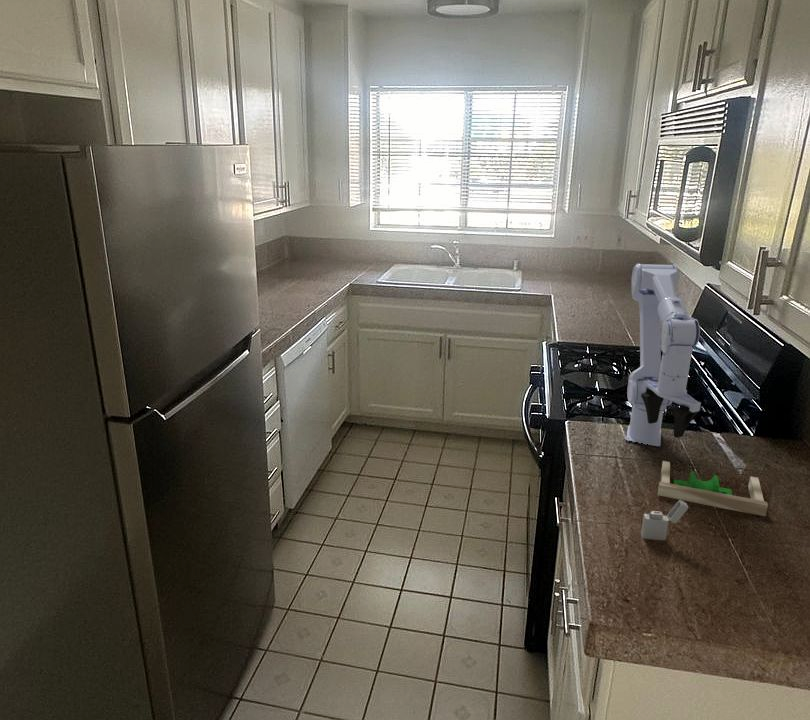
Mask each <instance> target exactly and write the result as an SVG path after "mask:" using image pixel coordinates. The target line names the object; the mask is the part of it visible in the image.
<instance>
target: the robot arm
mask: <svg viewBox="0 0 810 720" xmlns="http://www.w3.org/2000/svg"><path fill="white" fill-rule="evenodd" d="M679 274H680V272H679V268H678V266H677V265H676V264H651V263H649V264H648V263H647V264H645V263H636V264H635V266H633V268H632V273H631V296H632V300H634V301H636V302H637V303H638V308H639V309H638V310H639V353H640V354H639V357H640V359H639V362H640V365H639V367H638V368H637V369H634V370H633V371H632V372H631V373H630V374H629V376H628V384H627V388H626V391H627V392H626V394H627V400H628V402H629V403H630V404H631V405H632V407H631V414H630V422H629V425H627V426H628V427H627V430H626V437H625V441H626V440H627V441H626V442H629V441H632V442H631V443H635V442H638V443H637V444H641V443H643V444H642V445H647V444H648V446H654V447H661V443H662V441H661V438H662V430H661V428H662V422H663V416H664V411H665V410H667V407H669V406H670V405H672V403H675V404H677V405H680V406H678V407H673V408H672V412H673V417H674V419H673V420H674V424H673V433H672V434H673V437H674V438H681V437H683V436H684V435H685V432H686V429H687V428H688V426H689V425H690V423H691V421H692V420H693V419H694V418H695V417H696V416H697V414H699V412H701V411H700V410H701V404H702V402H701V401H698V400H696V399H695V398H694V397H692V396H691V395H690V394H688V390H687V385H688V379H689V372H690V367H691V366H690V365H691V359H692V355H693V349H694V348H693V347H696V346H697V345H698V343H699V342H700V341H699V340H700V336H701V328H700V327H701V326H700V324H699V320H698V319H696V318H694V317H691V316H690V314H689V311H688V309H687V307H686V304H685V302H684V300H683V299H681V297H677V292H676V287H677V286H678V283H679V279H680V278H679V277H680V275H679ZM661 325H662V327H661ZM661 352H662V355H661Z"/></svg>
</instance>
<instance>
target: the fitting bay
mask: <svg viewBox="0 0 810 720" xmlns="http://www.w3.org/2000/svg"><path fill="white" fill-rule="evenodd" d="M670 479H671V462H670V461H666V460H662V464H661V472H660V481H659V482H658V487H657V488H658V490H657V496H660V497H664V498H670V499H675V500H678V501H679V500H681V501H683V502H685V501H686V502H690V503H695V504H699V505H700V504H701V505H705V506H709V507H710V506H711V507H715V508H719V509H726V510H731V511H734V512H735V511H736V512H741V513H745V514H751V515H757V516H759V517H760V516H762V517H766V516H767V512H768V507H769V504H768V501H765V499H764V495H763V492H762V487H761V484H760V480H759V479H760V478H759V477H755V476H749V479H748V486H747V488H748V492H749V496H750V498H749V497H743V496H738V495H734V494H732V495H728V494H723V493H718V492H712V491H707V490H702V489H696V488H691V487H686V486H680V485H675V484H673V483H671V480H670Z"/></svg>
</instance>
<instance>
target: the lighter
mask: <svg viewBox="0 0 810 720" xmlns="http://www.w3.org/2000/svg"><path fill="white" fill-rule="evenodd" d="M688 509H689V506H688V503H687V502H685V501H684V500H679V499H678V501H677V502H676V503H675V504H674V505H673V507H672V508H671V510H669V512H668V513H667V515H664V514H663V512H662V511H660V510H659V511H656V510H652V511H651V512H649V513H644V514H643V517H642V525H641V529H640V535H641V538H642V539H643V540H656V541H666V538H667V535H668V534H667V532H668V526H669V521H670V522H671V523H673V524H677V523H678V521H679V520H680V519H681V518H682V517H683V515H684V514H685V513H686V512H687V510H688Z"/></svg>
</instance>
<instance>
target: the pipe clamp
mask: <svg viewBox="0 0 810 720" xmlns="http://www.w3.org/2000/svg"><path fill="white" fill-rule="evenodd" d="M672 484H675V485H680V486H686V487H691V488H696V489H702V490H707V491H712V492H718V493H723V494H728V495H733V493H732V489H731V488H726V487H720V481H719V476H718V475H715V474H713V476H712V477H711V479H709V480H706V481H704V480H700V479H698V478H697V477H696V474H695V471H690V473H689V480H688V481H686V480H679V479H673V483H672Z"/></svg>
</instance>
